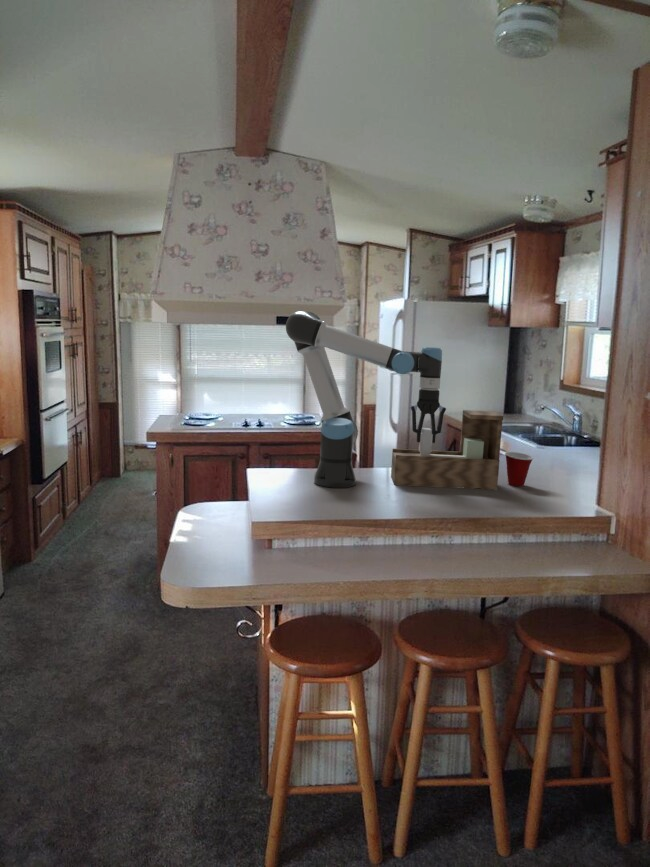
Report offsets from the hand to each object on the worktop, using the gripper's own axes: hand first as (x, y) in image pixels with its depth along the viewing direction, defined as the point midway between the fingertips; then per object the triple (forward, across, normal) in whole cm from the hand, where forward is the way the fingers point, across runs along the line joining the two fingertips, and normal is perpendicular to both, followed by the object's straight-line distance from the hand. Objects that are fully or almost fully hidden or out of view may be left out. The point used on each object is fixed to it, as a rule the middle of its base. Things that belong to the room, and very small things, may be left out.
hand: (425, 451), depth 249 cm
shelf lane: (+12, +7, 0) cm, 14 cm away
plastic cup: (+12, +36, +3) cm, 39 cm away
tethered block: (+2, +10, 0) cm, 10 cm away
